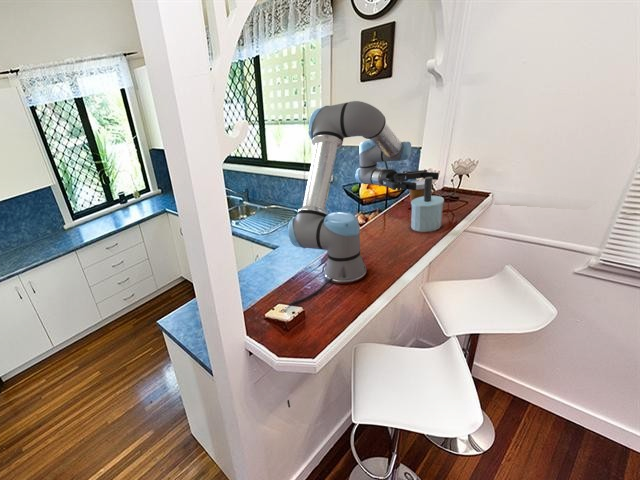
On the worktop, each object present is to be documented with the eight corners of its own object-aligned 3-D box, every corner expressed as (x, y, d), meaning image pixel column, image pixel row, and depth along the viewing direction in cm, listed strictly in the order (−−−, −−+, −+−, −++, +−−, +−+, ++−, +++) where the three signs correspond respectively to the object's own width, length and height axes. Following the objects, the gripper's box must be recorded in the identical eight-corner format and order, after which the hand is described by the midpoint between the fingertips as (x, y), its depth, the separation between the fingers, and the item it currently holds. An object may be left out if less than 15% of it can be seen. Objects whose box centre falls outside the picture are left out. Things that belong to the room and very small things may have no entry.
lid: (430, 210, 139) (432, 183, 134) (404, 206, 149) (405, 181, 144) (450, 200, 143) (452, 174, 138) (423, 196, 153) (425, 172, 148)
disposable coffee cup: (424, 201, 176) (426, 178, 170) (431, 207, 168) (433, 182, 162) (405, 205, 178) (405, 181, 172) (411, 211, 170) (411, 186, 164)
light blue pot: (429, 234, 145) (430, 208, 139) (405, 229, 154) (406, 204, 149) (446, 225, 149) (449, 199, 143) (422, 220, 158) (424, 196, 152)
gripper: (403, 177, 165) (446, 181, 148) (365, 194, 157) (405, 200, 140) (404, 161, 161) (447, 163, 144) (364, 177, 153) (405, 181, 136)
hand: (427, 181), depth 142 cm, fingers open, 13 cm apart
